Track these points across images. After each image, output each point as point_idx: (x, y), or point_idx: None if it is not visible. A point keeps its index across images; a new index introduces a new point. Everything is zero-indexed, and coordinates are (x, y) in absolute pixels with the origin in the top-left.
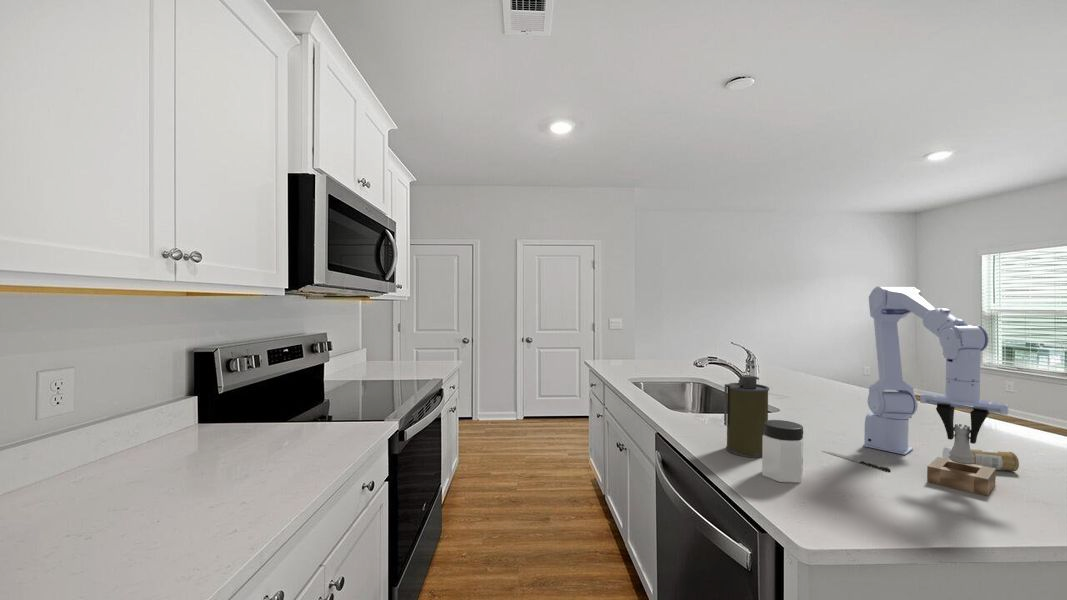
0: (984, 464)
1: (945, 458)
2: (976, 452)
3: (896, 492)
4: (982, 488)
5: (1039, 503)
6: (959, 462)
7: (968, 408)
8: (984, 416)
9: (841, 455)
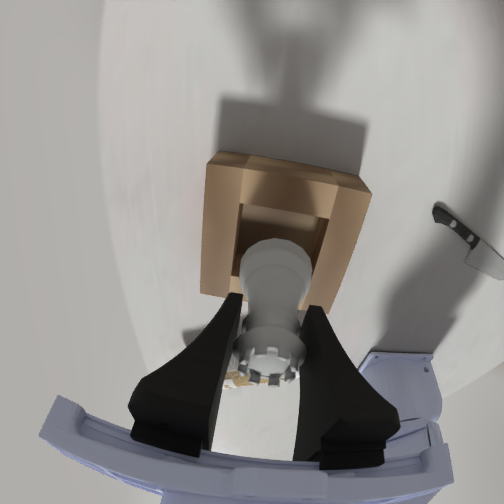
0: None
1: None
2: None
3: (424, 29)
4: (227, 155)
5: (129, 183)
6: (282, 240)
7: (227, 456)
8: (137, 388)
9: (496, 268)
